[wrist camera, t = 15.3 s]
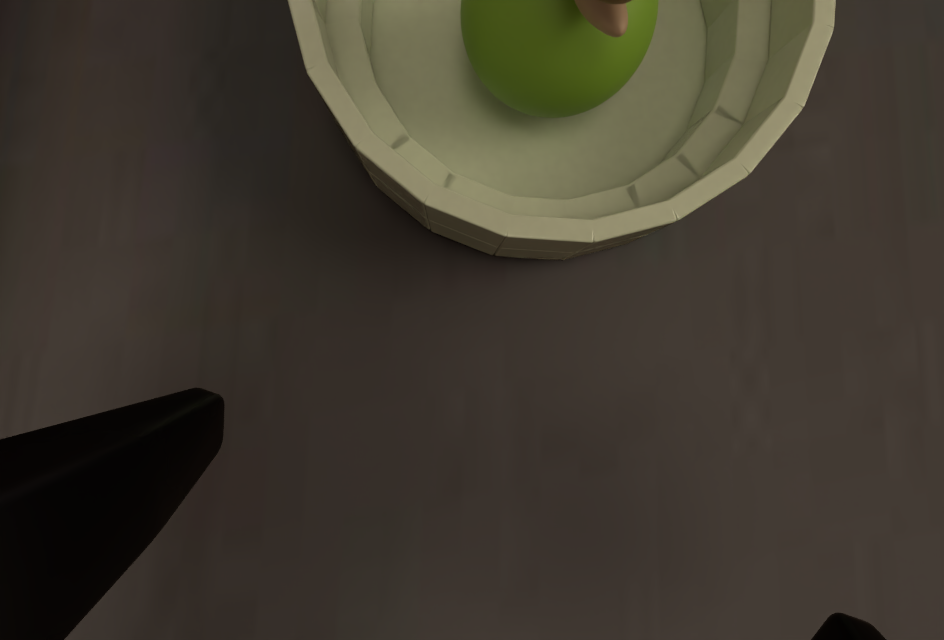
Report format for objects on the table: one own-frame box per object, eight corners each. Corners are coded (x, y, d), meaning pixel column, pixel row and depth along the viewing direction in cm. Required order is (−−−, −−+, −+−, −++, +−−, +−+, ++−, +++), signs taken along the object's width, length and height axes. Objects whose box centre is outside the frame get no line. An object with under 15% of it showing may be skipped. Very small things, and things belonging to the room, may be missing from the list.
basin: (316, 247, 19) (267, 221, 14) (341, -169, 19) (303, -342, 14) (727, 274, 20) (822, 257, 15) (751, -132, 20) (852, -287, 15)
